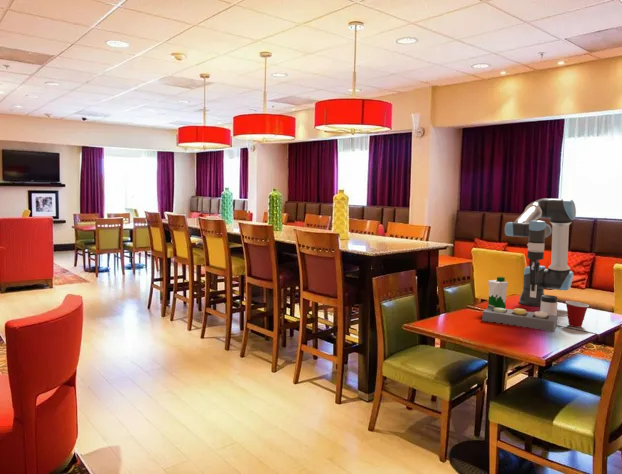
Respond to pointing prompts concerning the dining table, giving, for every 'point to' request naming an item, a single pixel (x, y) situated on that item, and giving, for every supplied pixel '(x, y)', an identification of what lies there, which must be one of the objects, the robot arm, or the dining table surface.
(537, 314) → the cream button
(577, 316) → the plastic cup
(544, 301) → the jar
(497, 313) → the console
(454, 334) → the dining table surface
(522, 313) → the mustard button
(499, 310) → the sage button
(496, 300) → the milk carton
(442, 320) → the dining table surface
